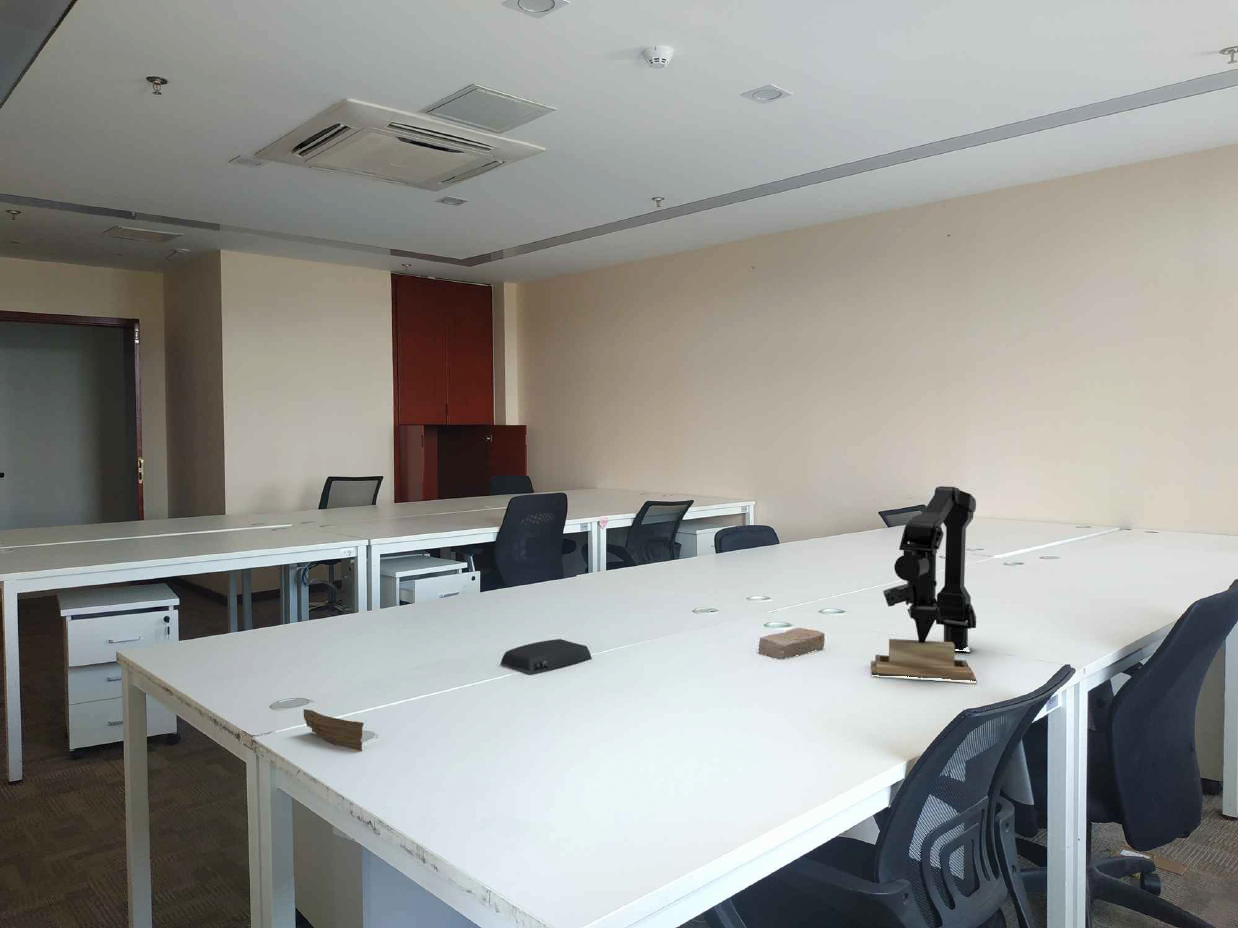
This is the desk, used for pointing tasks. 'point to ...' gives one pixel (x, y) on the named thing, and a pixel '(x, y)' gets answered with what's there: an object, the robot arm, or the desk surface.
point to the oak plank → (921, 652)
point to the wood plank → (335, 729)
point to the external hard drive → (545, 656)
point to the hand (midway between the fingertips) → (921, 642)
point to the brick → (791, 643)
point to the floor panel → (921, 669)
